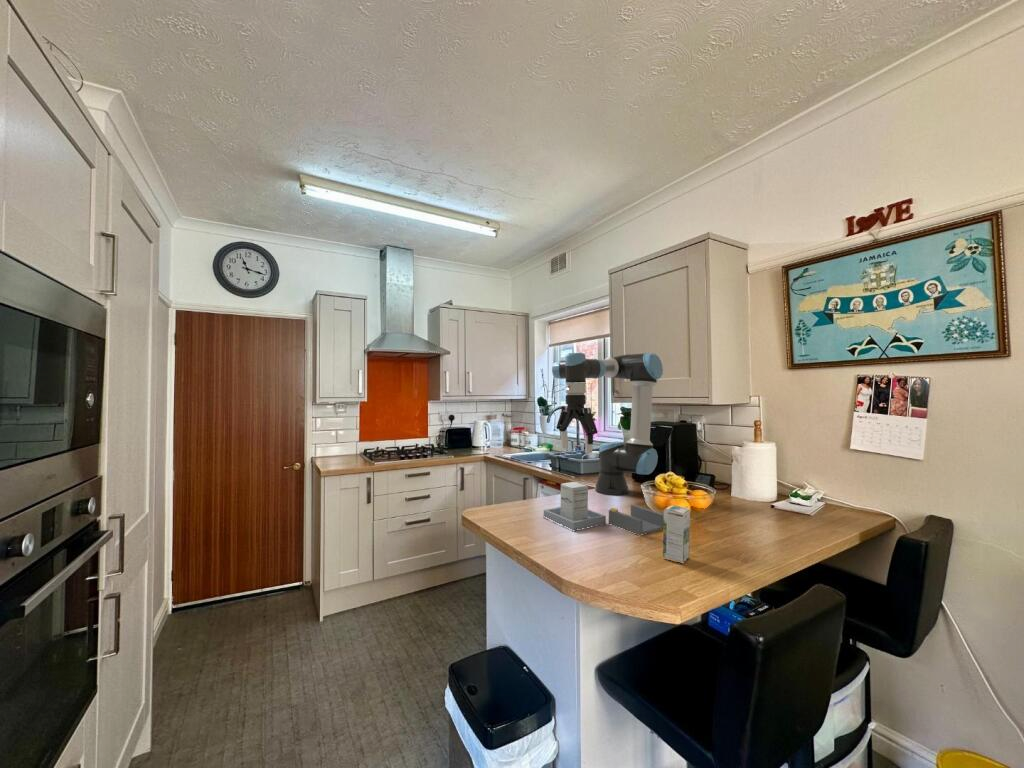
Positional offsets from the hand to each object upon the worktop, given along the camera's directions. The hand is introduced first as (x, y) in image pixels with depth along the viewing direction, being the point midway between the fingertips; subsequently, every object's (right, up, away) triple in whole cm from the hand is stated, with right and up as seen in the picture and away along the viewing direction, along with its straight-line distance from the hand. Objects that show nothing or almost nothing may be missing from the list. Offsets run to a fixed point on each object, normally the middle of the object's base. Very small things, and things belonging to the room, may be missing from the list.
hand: (576, 450), depth 156 cm
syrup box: (+23, -25, -37) cm, 51 cm away
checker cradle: (+20, -25, -10) cm, 33 cm away
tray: (-1, -25, -4) cm, 25 cm away
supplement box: (-1, -25, -5) cm, 25 cm away
